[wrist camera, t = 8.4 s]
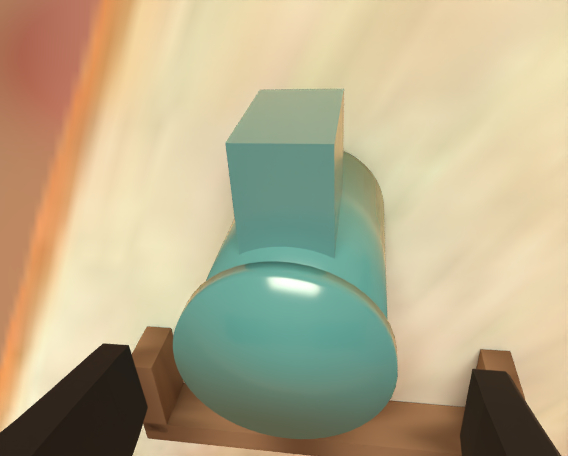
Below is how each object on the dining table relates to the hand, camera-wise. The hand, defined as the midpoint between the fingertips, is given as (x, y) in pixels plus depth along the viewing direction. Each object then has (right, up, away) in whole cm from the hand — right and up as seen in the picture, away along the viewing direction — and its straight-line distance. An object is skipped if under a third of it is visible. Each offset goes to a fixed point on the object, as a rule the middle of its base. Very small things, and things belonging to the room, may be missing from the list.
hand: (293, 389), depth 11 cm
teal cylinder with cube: (+1, +5, +8) cm, 9 cm away
